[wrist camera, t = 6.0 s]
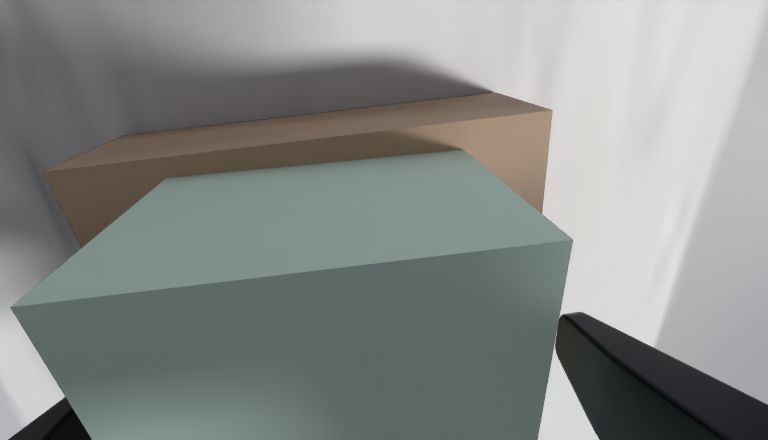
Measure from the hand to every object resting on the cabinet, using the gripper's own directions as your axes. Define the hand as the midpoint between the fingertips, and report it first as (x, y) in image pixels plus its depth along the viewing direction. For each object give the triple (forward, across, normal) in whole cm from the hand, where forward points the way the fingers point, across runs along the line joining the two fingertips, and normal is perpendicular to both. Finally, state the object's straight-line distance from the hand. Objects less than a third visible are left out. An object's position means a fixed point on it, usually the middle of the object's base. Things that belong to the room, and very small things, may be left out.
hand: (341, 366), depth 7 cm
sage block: (+2, 0, 0) cm, 2 cm away
